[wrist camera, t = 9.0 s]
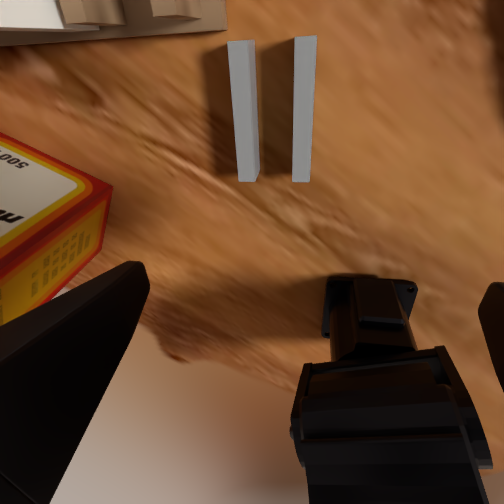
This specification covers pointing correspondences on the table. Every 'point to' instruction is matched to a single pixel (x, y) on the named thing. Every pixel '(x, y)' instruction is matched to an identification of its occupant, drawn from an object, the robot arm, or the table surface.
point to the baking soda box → (44, 225)
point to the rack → (128, 20)
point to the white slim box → (36, 17)
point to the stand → (247, 112)
